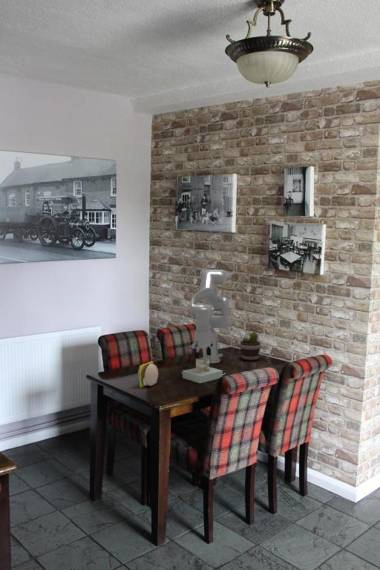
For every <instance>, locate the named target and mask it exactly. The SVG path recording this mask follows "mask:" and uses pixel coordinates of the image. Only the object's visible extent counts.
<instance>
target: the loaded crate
mask: <svg viewBox="0 0 380 570" xmlns="http://www.w3.org/2000/svg"><path fill="white" fill-rule="evenodd" d="M209 367H210V363H209V359H206V358H203V357H199V359H196V358H195V368H196V371H198V372H202V373H203V372H207V371H209Z"/></svg>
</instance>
